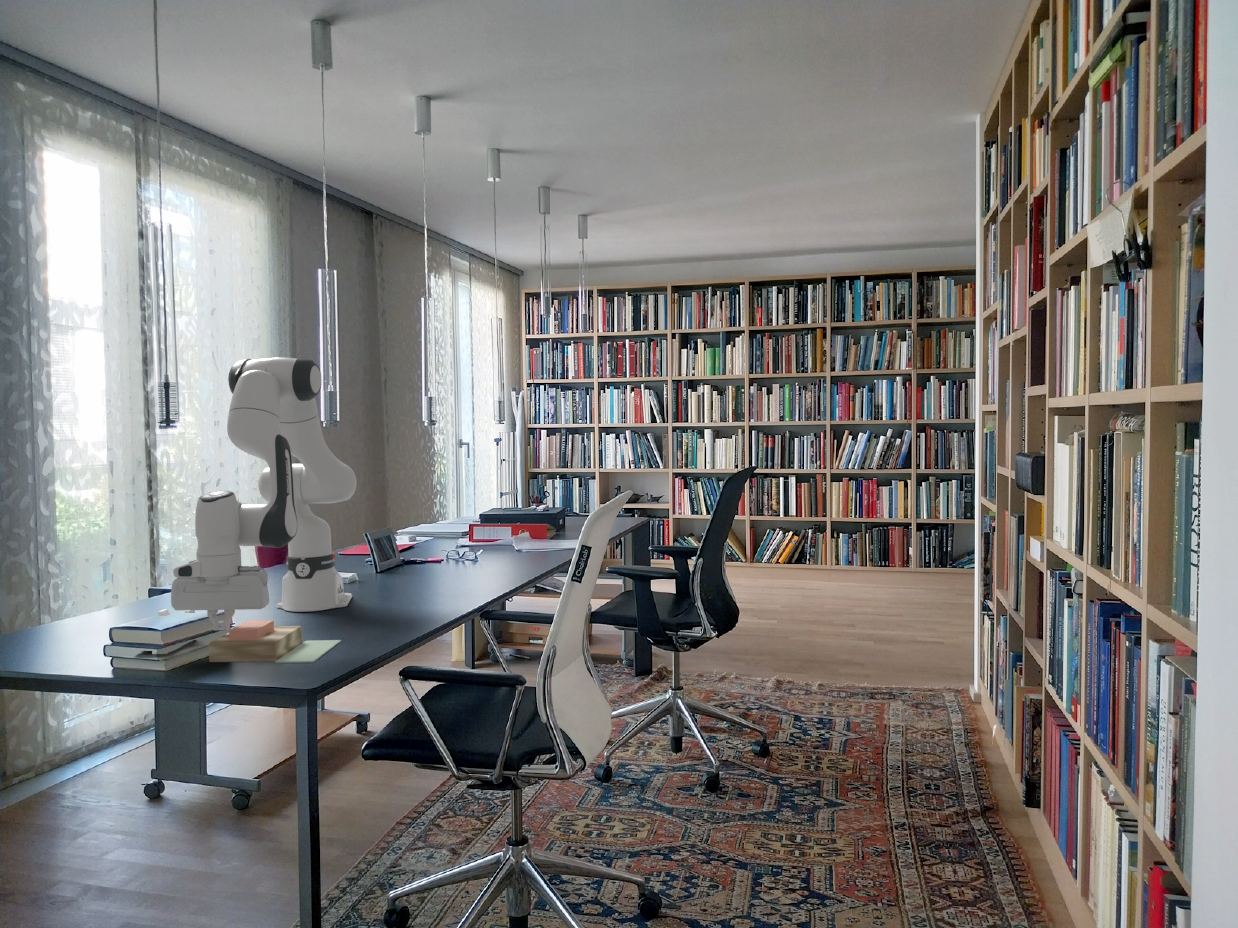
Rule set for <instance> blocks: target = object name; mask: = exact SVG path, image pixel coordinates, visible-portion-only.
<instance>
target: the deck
mask: <svg viewBox="0 0 1238 928" xmlns="http://www.w3.org/2000/svg"><path fill="white" fill-rule="evenodd" d="M302 633H303V632H302V625H285V626H284V625H282V626H281V625H280V626H277V625H276V626H275V625H274V630H272V631H270V632H269V633H267V634H265V635H264V636H262V637H260V638H259V639H232V640H229V632H227V633H225V634H223V635H221V636H220V637H218V638H216V639H214V640H212V641H210V642H208V656H209V657H208V659H209V661H208V662H209V663H232V662H233V663H238V662H241V663H242V662H246V663H247V662H254V663H255V662H275V661H277V660H278V659H280V658H281V657H283V656H284V655H286V654H287V653H289V652H290V651H291V650H293V649H294V648H296V647H297V646H299V645H300V644H302V643H303V637H302V636H303V634H302Z"/></svg>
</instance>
